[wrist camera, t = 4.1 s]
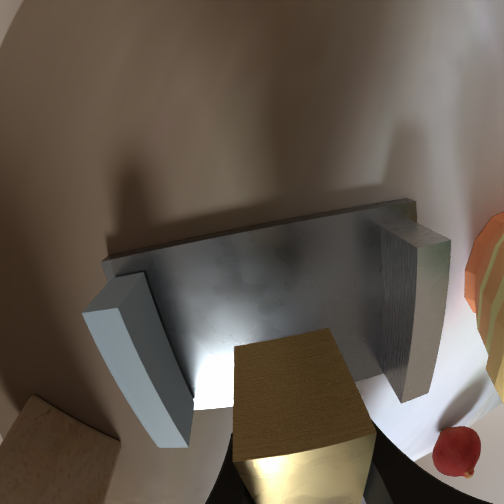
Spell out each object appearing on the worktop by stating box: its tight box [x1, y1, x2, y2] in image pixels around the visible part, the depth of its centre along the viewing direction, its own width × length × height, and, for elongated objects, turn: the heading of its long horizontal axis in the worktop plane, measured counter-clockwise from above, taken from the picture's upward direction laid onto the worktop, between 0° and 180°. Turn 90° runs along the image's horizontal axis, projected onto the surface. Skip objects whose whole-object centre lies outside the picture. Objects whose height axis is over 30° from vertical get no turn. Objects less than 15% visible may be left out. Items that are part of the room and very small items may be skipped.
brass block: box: [233, 328, 377, 504], centre depth 9 cm, size 6×4×5 cm, turn 11°
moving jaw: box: [82, 272, 195, 448], centre depth 15 cm, size 10×2×4 cm, turn 11°
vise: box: [101, 198, 451, 410], centre depth 16 cm, size 12×18×5 cm, turn 101°
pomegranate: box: [432, 426, 481, 479], centre depth 21 cm, size 6×6×8 cm
